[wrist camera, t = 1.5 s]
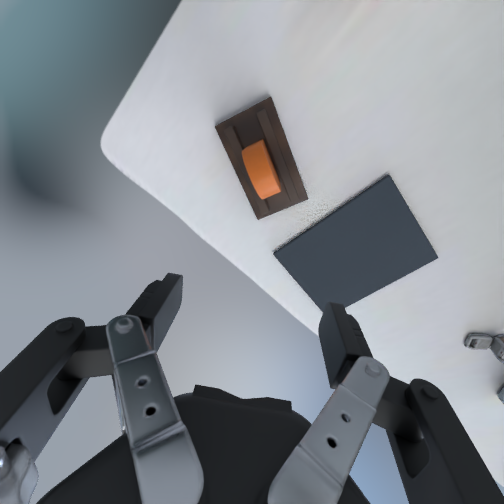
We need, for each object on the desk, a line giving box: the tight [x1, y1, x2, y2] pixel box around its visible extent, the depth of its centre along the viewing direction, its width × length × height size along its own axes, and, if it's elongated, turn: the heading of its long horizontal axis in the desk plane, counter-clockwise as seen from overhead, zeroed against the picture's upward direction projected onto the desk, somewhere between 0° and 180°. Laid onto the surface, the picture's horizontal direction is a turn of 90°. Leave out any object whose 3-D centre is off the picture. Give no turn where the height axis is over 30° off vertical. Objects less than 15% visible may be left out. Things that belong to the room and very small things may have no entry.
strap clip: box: [465, 334, 504, 363], centre depth 45 cm, size 8×3×4 cm, turn 91°
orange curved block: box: [242, 139, 281, 199], centre depth 31 cm, size 6×2×9 cm, turn 24°
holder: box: [215, 97, 308, 220], centre depth 35 cm, size 14×8×3 cm, turn 24°
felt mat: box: [274, 175, 438, 312], centre depth 41 cm, size 20×16×1 cm
